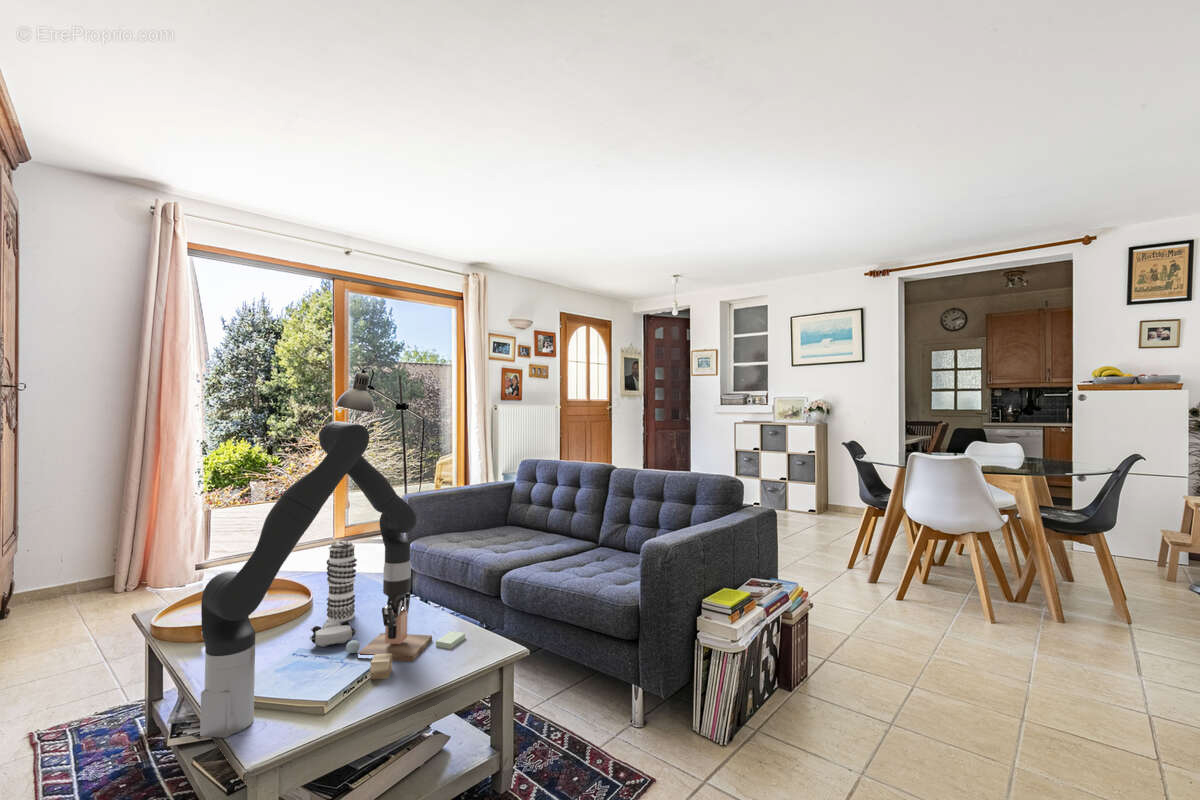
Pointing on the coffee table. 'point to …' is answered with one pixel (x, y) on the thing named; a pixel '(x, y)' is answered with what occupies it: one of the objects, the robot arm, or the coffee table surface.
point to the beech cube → (381, 666)
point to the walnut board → (398, 647)
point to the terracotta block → (398, 629)
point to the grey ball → (352, 646)
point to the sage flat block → (450, 639)
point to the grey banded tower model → (341, 581)
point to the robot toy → (332, 633)
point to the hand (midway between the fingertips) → (396, 634)
